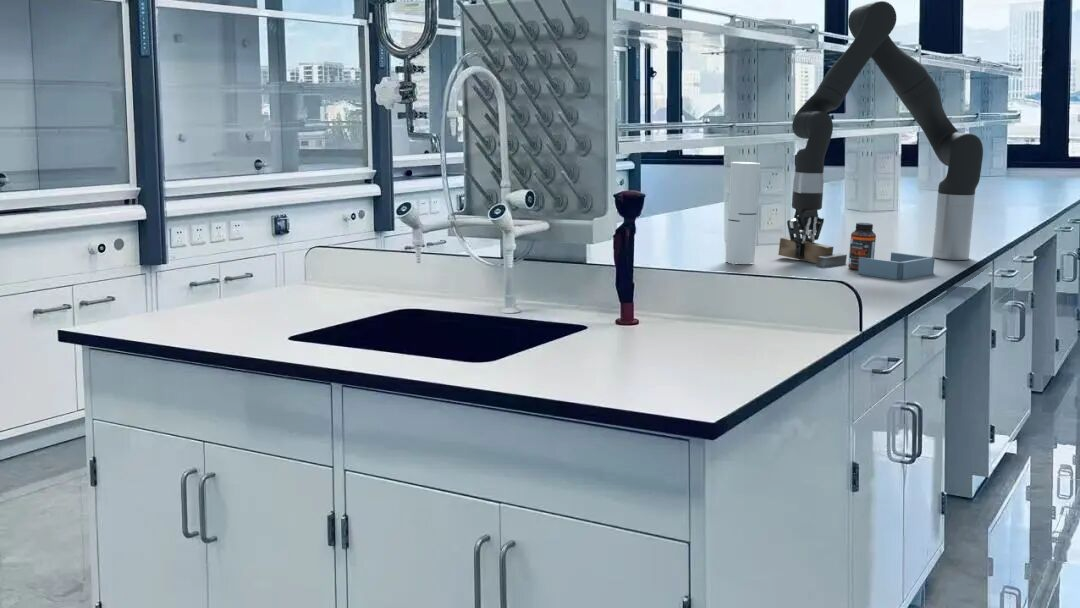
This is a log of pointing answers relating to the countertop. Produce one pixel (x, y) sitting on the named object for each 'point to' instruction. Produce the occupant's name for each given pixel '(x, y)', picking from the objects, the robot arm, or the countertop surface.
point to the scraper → (812, 253)
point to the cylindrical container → (742, 212)
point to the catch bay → (897, 266)
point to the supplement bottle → (861, 244)
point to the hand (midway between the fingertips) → (803, 257)
